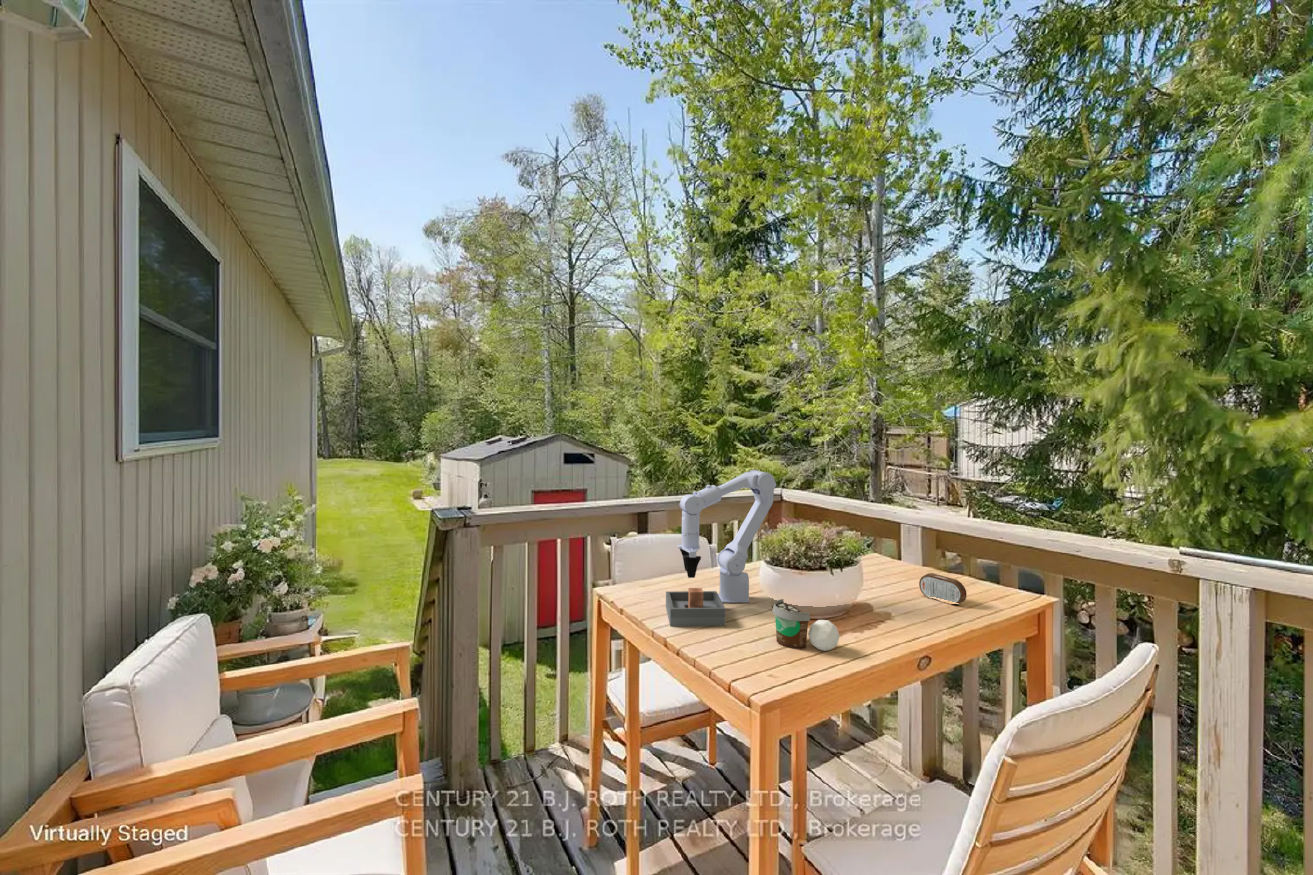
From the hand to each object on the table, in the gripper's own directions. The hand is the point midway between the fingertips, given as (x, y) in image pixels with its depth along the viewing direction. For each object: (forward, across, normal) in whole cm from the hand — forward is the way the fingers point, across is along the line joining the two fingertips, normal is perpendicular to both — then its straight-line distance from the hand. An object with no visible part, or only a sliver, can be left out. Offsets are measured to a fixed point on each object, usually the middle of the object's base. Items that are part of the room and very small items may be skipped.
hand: (689, 573), depth 185 cm
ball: (+10, +37, +31) cm, 49 cm away
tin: (+10, +1, +84) cm, 85 cm away
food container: (+10, +33, +22) cm, 41 cm away
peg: (+9, +12, 0) cm, 15 cm away
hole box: (+9, +12, 0) cm, 15 cm away
